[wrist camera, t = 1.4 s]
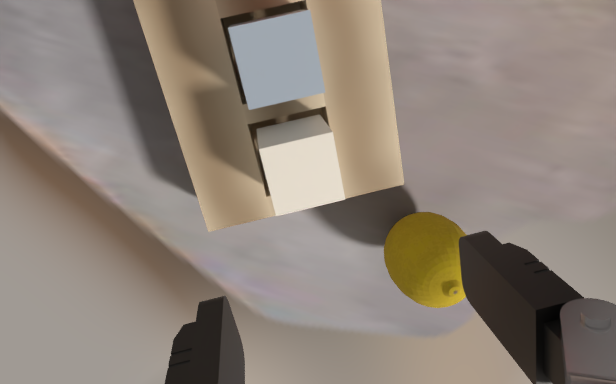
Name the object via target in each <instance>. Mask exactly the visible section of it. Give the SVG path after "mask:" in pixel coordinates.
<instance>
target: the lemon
mask: <svg viewBox="0 0 616 384" xmlns="http://www.w3.org/2000/svg"><path fill="white" fill-rule="evenodd" d="M463 236H467V235H466V234H465V233H464V232H463V231H462V230H461V228H460V227H459V226H458V225H457V224H455V223H454V222H452V221H451V220H449V219H447V218H446V217H444V216H442V215H439V214H435V213H431V212H418V213H414V214H410V215H408V216H406V217H404V218H402V219H401V220H399V221H398V222H397V223H396V224H395V225H394V226H393V227H392V228H391V230H390V231H389V233H388V236H387V238H386V241H385V246H384V258H385V264H386V267H387V269H388V272H389V275H390V277H391V279H392V280H393V281H394V283H395V284H396V285H397V286H398V288H399V289H400V290H401V291H402V292H403V293H404V294H405V295H406V296H408V297H409V298H411V299H412V300H414V301H415V302H417V303H419V304H421V305H424V306H427V307H435V308H441V307H448V306H451V305H454V304H456V303H458V302H460V301H461V300H463V299H464V298H465V297H466V295H465V292H464V289H463V285H462V278H461V266H460V254H459V239H460V237H463Z"/></svg>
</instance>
